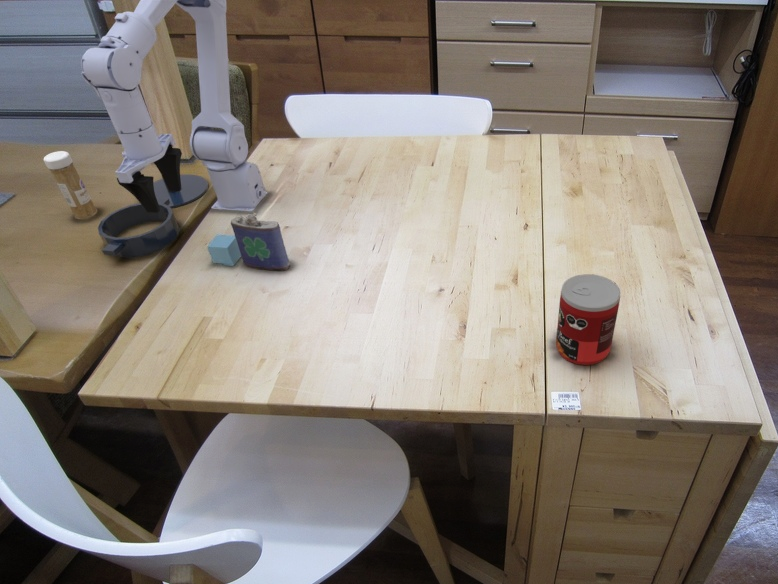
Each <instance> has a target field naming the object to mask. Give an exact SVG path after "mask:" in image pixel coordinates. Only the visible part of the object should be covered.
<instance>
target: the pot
mask: <svg viewBox="0 0 778 584" xmlns="http://www.w3.org/2000/svg"><path fill="white" fill-rule="evenodd" d="M157 201H158V204H159V209H160V211H159V212H158V213H151V212H147V211H146V209H145V208H144V207H143V206H142V204H141V203H140V202H139V203H134V204H130V205H126V206H124V207H121V208H118V209H117V210H115V211H112V212H111V213H109V214H108V215H107V216H105V217H104V218H103V219H102V220H101V221H100V223H98V226H97V230H98V235H99V236H100V239H101V240H102V243H103V244H104V246H105V247H104V248H102V249H101V252H102V253H103V255H104V256H115V257H118V258H125V259H131V258H138V257H139V258H140V257H144V256H149V255H151V254H154V253H155V252H159V251H161V250H163V249H164V248H166V247H168V246H169V245H171V244H172V243H173V242H174V241H175V240H176V239H177V238H178V237H179V234H180V226H179V225H178V222H177V220H176V217H175V215H174V213H173V209H172V208H170V207H169V206H168V205H169V204H170V201H169V199H161V198H158V199H157ZM149 222H162V223H161V224H160V225H158V226H156V227H155V228H153V229H151V230H149V231H146V232H143V233H141V234H137V235H132V236H123V237H122V236H121V237H118V235H119V234H120V233H121V232H123V231H125V230H126V229H129V228H131V227H135V226H136V225H139V224H144V223H149Z"/></svg>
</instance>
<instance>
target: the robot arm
mask: <svg viewBox="0 0 778 584" xmlns="http://www.w3.org/2000/svg"><path fill="white" fill-rule="evenodd" d="M175 5H176V6H178V7H179V8H180V9H182V10H183V11H184V12H185V13H188V14H189V15H190V16H191V18H192V19H193V20H194V23H195V36H196V37H195V38H196V53H197V67H198V81H199V84H198V85H199V98H200V112H199V114H198V115H197V116H195V117H194V118H193V119H192V121H191V133H190V137H189V148H190V152H191V154H192V155H193V156H194V158H195V159H196V160H198V161H201V164H202V166H203V167H206V170H207V172H208V176H209V179H210V180H211V184H212V187H213V190H214V193H215V196H216V198H217V200H216V202H214V204H213V205H212V206H210V207H211V209H214V210H215V209H216V210H230V211H244V212H245V211H247V212H254V210H255V209H256V208H257V206H258V205H259V204H260V203H261V202H262V200H263V199H264V198H265V197H266V196H267V194H268V193H269V192H268V191H266V189H265V185H264V181H263V177H262V174H261V171H260V168H259V166H258V165H257V164H256V163H254V162H249V161H247V157H248V153H249V145H248V141H247V139H246V138H247V137H246V134H245V125H244V124H243V123H242V122H241V121H240V120H239V119H238V118H236V116H234V115H233V114H232V113H231V112H232V110H231V108H232V107H231V92H230V91H231V90H230V69H229V68H230V67H229V51H228V35H227V34H228V32H227V31H228V30H227V29H228V28H227V14H226V13H227V11H228V10H227V9H228V7H227V6H228V5H227V0H139V2H138V4H137V5H136V6H135V9H134V11H124V12H122V13H121V12H119V13H116V16H114V20H115V22H114V23H113V25H112V26H111V28H110V29H109V30H108V32H107V33H106V34H105V35H103V36H102V37H101V38H100V43H98V46H97V47H90V48H88V49H87V50H86V51H85V52H84V54H83V55H82V57H81V60H80V66H81V73H80V75H81V77H82V80H84V81H85V83H86V84H87V85H88V86H90V87H91V88H93V90H94V92H95V93H96V95H97V97H98V98H99V99H100V100H102V102H103V105H104V107H105V109H106V112H107V114H108V117H109V118H110V121H111V123H112V125H113V127H114V130H115V132H116V135H117V137H118V139H119V141H120V143H121V145H122V148H123V150H124V151H122V152H121V155H122V158H123V159H122V162H121V164H120V166H119V167H118V168H117V170H115V171H114V173H115V175H116V181H117V183H118V185H119V186H121V187H123V188H124V189H125V190H126V191H128V192H129V193H130V194H131V195H132V196H133V197H134V198H135V199H136V200H137V201H138V202H139V203H141V204H142V206H143V207H144V208H145V209H146V211H147V212H151V213H158V212H159V211H160V209H159V204H158V201H157V199H156V196H155V192H154V185H153V182H154V176H151V175H148V176H147V175H144V173H142V172H141V171H143V170H144V169H145V168H147V166H150V165H151V164H154V165H155V167H156V168H157V170H158V171H159V173H160V174H161V178H162V177H163V179H164V181H165V183H166V185H167V187H168V188H169V190H170V191H180V190H181V179H180V175H181V161H182V155H183V153H182V150H181V148H179V147H174V146H176V141H175V138H174V135H173V134H172V133H161V134H160V135H158V133H157V130H156V128H155V125H154V123H153V120H152V118H151V115H150V113H149V110H148V107H147V105H146V103H145V100H144V98H143V95H142V92H141V90H140V87H139V85H140V83H141V81H142V67H143V66H144V65H143V63H144V60H145V59H146V57H147V55H148V54H149V53H150V51H151V49H152V48H154V45H155V43H156V42H157V41H158V36H157V31H156V27H157V26H158V25H159V24H160V23H161V22H162V20H163V19H164V18H165V16H167V14H168V13H170V10H172V8H173V7H174V6H175ZM212 128H216V129H212ZM217 128H218V129H217ZM219 128H220V129H219ZM221 129H222V130H221Z"/></svg>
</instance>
